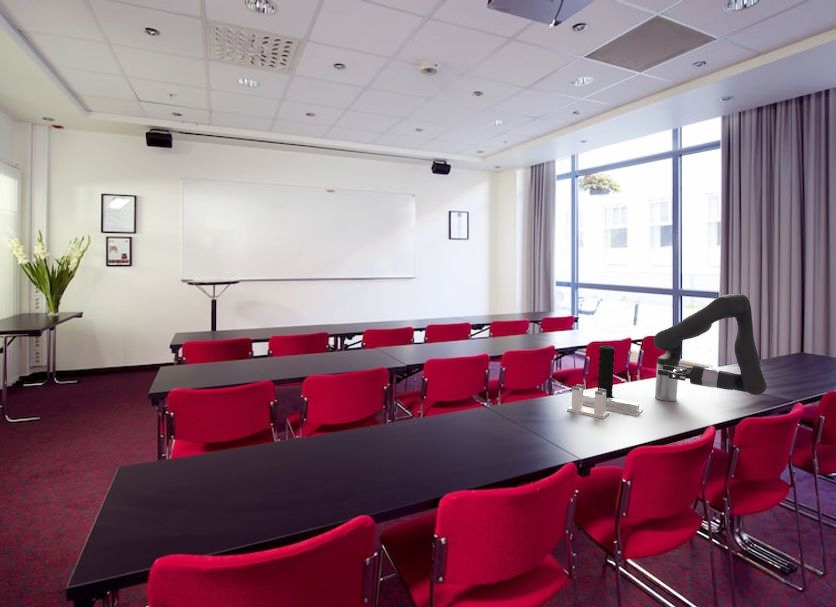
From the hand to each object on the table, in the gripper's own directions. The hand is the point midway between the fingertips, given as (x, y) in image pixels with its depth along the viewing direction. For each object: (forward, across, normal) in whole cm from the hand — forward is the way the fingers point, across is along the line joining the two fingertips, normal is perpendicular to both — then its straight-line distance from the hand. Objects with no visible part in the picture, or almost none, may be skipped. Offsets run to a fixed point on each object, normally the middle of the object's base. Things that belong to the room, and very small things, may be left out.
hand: (660, 369), depth 194 cm
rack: (+24, +15, +21) cm, 36 cm away
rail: (+19, +1, +21) cm, 29 cm away
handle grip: (+25, -11, +22) cm, 36 cm away
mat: (+20, +1, +22) cm, 30 cm away
